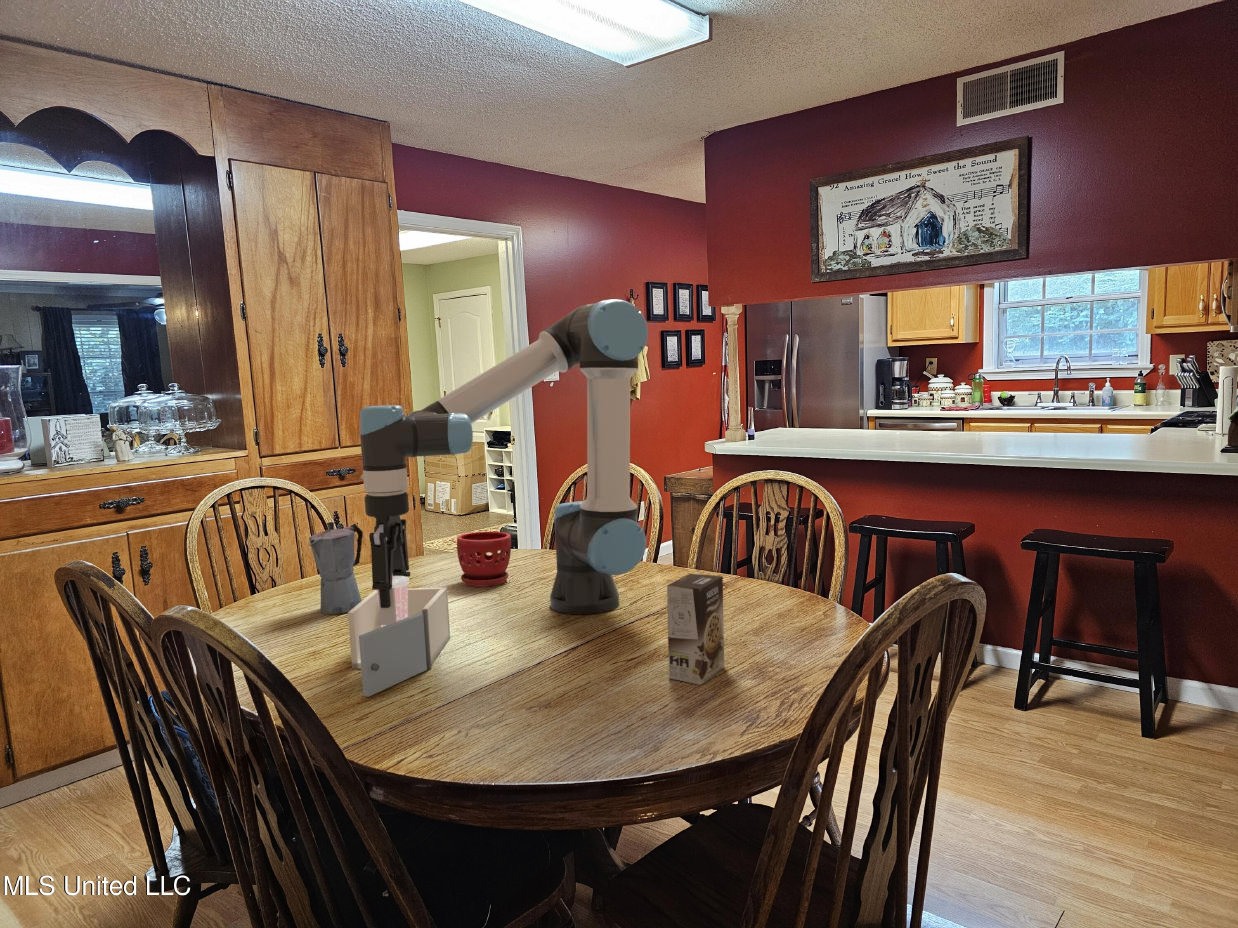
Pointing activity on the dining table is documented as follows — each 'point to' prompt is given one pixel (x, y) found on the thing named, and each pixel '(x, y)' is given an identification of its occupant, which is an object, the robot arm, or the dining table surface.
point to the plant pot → (484, 557)
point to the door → (392, 654)
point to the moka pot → (337, 567)
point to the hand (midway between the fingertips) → (394, 617)
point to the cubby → (419, 601)
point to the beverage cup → (400, 596)
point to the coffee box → (695, 628)
